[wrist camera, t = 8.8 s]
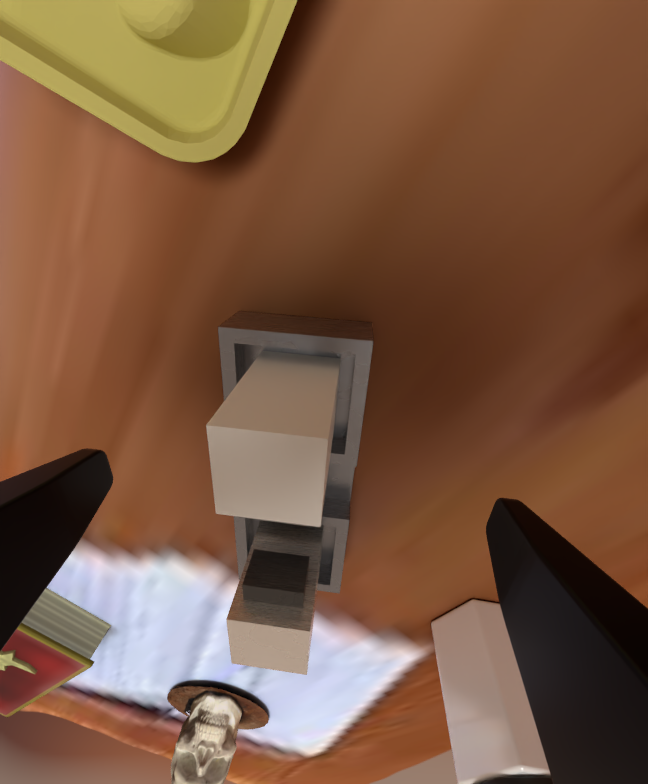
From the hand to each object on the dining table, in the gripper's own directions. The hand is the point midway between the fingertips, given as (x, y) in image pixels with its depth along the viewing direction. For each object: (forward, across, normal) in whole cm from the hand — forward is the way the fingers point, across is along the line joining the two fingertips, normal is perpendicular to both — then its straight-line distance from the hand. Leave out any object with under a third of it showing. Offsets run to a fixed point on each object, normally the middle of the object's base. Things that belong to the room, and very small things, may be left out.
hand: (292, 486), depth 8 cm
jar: (+12, -14, +24) cm, 31 cm away
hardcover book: (+12, +31, +36) cm, 49 cm away
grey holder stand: (+12, +2, +8) cm, 14 cm away
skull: (+12, +11, +46) cm, 49 cm away
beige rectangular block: (+10, +2, +3) cm, 11 cm away
